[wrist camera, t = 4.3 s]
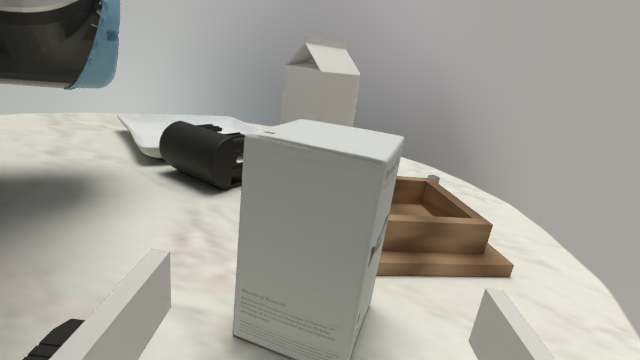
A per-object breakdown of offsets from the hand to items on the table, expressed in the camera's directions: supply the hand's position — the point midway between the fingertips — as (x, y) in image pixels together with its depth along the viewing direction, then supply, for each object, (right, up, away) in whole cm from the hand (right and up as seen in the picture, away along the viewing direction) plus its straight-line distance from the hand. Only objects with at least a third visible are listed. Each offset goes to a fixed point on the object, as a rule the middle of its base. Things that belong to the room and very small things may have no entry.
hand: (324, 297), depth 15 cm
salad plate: (-21, +11, +46) cm, 52 cm away
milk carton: (-2, +5, +37) cm, 37 cm away
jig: (+8, -1, +23) cm, 24 cm away
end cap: (-15, +5, +31) cm, 35 cm away
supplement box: (-1, -5, +9) cm, 10 cm away
